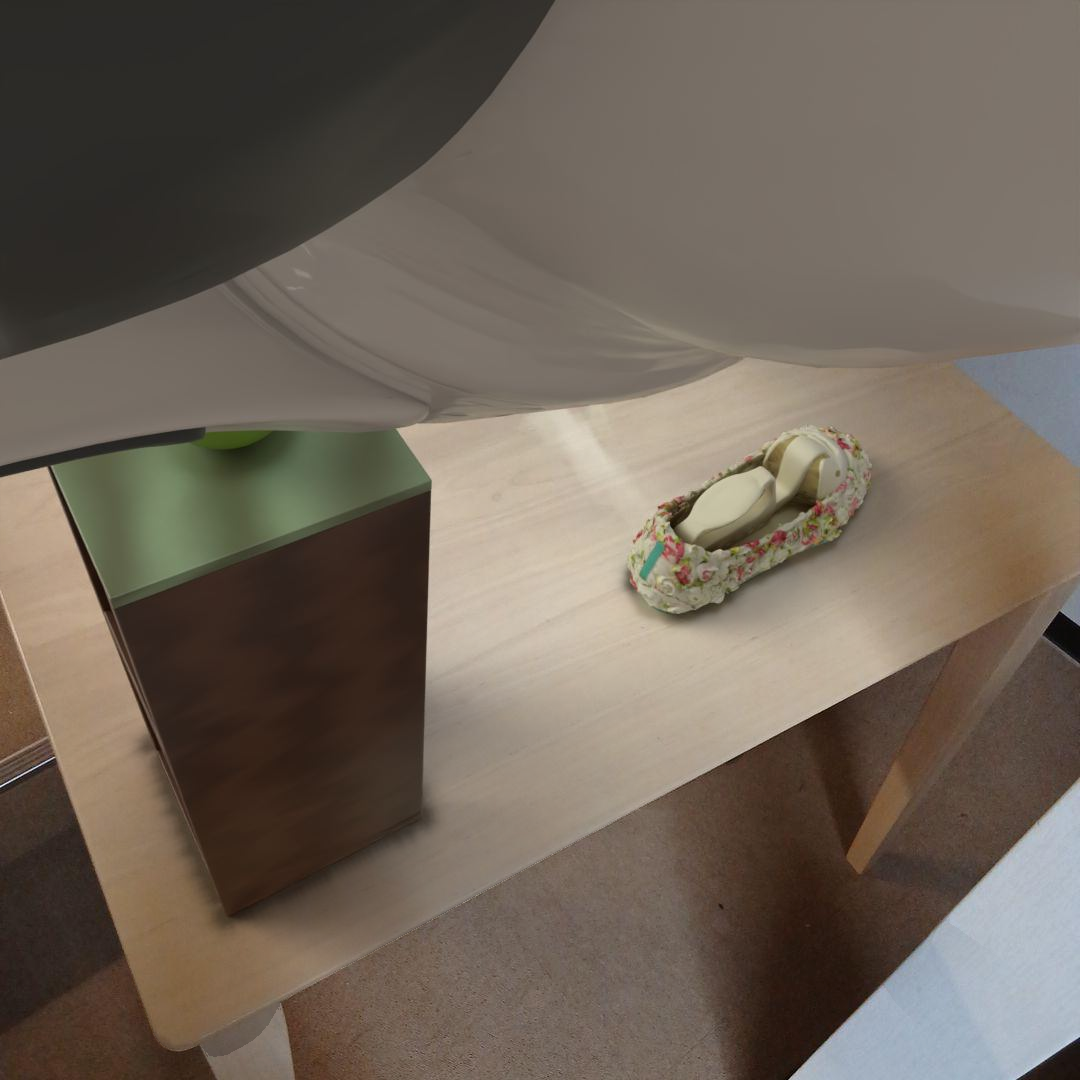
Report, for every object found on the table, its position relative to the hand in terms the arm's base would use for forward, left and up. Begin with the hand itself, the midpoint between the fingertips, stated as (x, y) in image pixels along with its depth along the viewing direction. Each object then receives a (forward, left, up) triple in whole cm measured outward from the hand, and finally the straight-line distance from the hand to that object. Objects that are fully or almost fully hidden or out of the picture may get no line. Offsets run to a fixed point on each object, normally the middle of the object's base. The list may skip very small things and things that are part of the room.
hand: (261, 263), depth 26 cm
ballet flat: (+39, -7, -44) cm, 59 cm away
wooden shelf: (+4, +7, -43) cm, 44 cm away
